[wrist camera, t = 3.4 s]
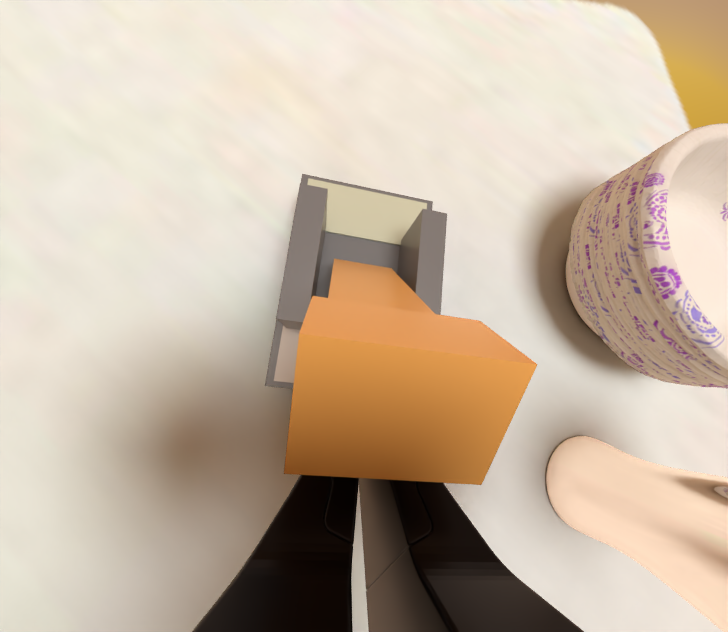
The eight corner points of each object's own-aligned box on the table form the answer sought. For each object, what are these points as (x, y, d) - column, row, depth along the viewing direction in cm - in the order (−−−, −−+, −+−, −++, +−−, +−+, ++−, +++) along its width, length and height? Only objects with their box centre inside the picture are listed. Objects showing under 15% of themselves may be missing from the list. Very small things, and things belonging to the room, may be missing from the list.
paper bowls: (495, 250, 20) (603, 184, 12) (618, 172, 24) (764, 81, 16) (610, 422, 19) (801, 464, 12) (720, 316, 23) (925, 294, 15)
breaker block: (400, 393, 17) (447, 414, 11) (274, 380, 16) (245, 395, 10) (415, 225, 19) (462, 160, 13) (305, 203, 18) (297, 121, 12)
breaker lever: (386, 303, 15) (481, 484, 5) (323, 293, 15) (283, 473, 4) (396, 257, 14) (537, 364, 4) (330, 246, 14) (299, 333, 4)
